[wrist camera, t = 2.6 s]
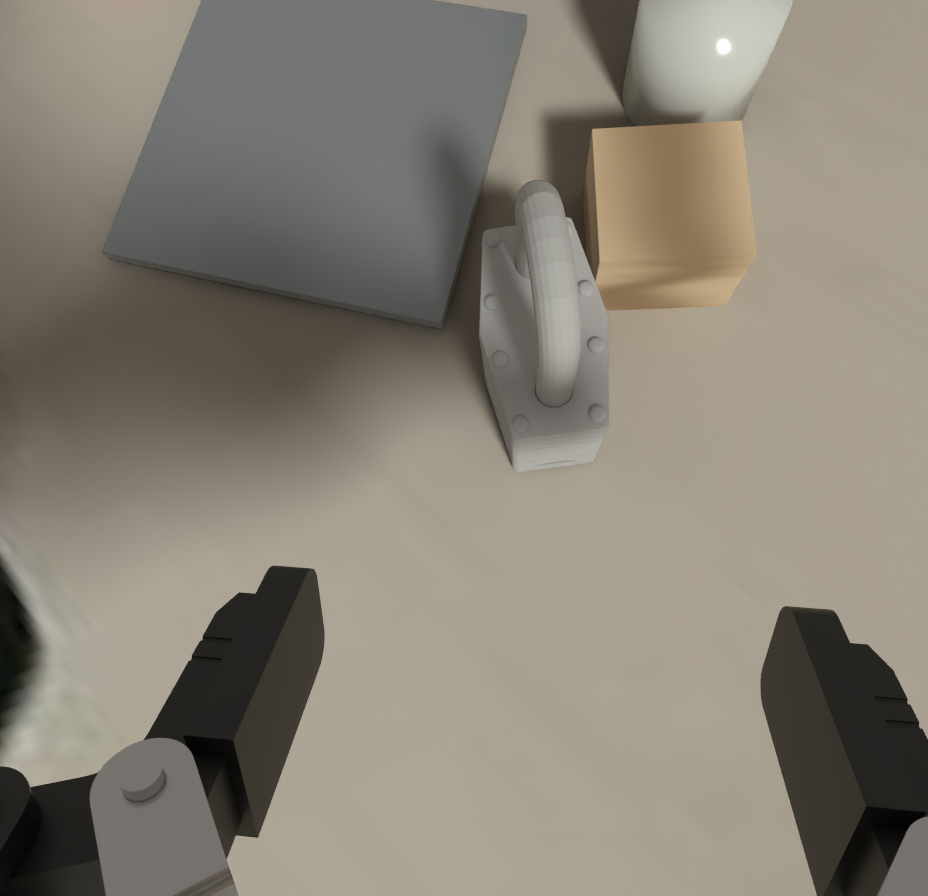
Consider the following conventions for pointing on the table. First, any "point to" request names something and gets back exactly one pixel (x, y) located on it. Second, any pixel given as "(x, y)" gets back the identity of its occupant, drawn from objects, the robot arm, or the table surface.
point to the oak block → (668, 214)
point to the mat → (324, 150)
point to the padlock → (543, 336)
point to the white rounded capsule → (699, 58)
